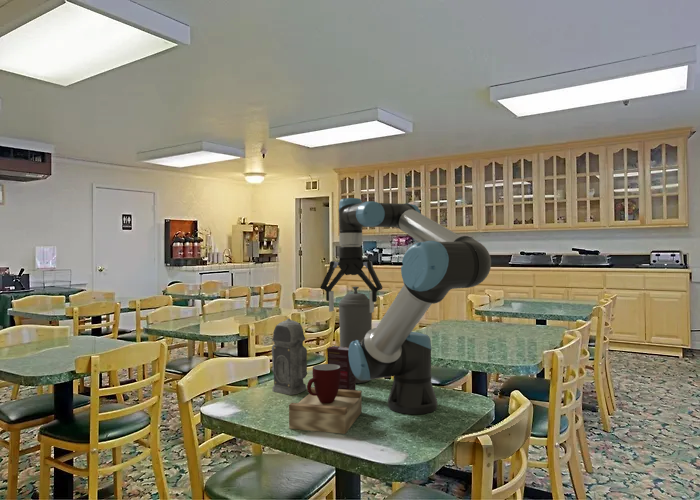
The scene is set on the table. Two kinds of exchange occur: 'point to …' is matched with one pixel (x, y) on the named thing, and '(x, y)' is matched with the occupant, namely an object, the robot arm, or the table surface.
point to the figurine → (289, 358)
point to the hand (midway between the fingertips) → (351, 311)
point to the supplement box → (342, 366)
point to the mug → (325, 382)
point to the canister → (354, 319)
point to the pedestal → (326, 412)
